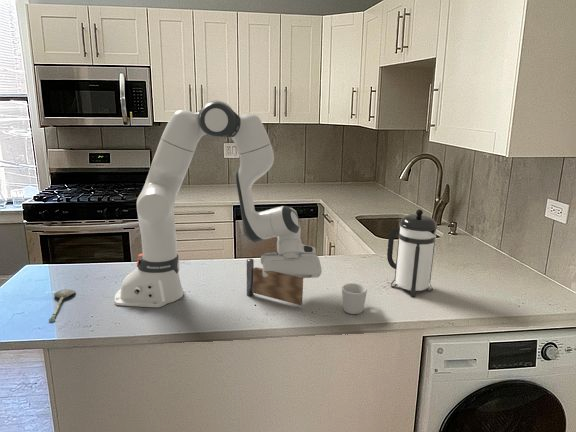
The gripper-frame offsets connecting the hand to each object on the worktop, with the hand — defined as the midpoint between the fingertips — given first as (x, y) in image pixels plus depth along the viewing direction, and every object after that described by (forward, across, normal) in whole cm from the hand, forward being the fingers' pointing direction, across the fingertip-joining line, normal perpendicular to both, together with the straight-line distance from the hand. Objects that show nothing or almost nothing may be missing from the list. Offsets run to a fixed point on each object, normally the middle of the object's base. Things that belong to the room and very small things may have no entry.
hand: (293, 290), depth 145 cm
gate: (+2, -5, +3) cm, 6 cm away
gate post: (-2, -14, +8) cm, 17 cm away
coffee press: (-2, +44, +10) cm, 45 cm away
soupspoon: (0, -76, +7) cm, 76 cm away
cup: (+8, +20, -1) cm, 21 cm away
